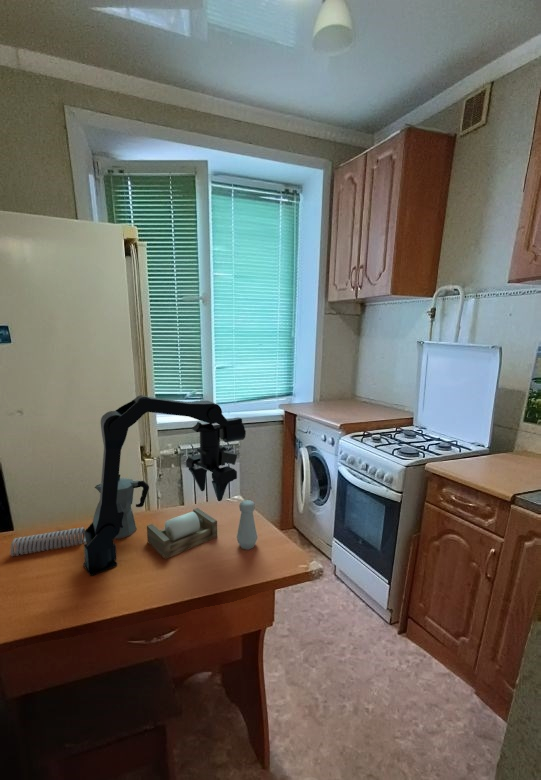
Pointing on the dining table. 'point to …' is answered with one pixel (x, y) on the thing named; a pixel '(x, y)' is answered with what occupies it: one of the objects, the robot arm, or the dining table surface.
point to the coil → (46, 541)
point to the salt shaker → (247, 525)
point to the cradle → (169, 548)
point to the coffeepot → (128, 503)
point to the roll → (182, 526)
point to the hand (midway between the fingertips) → (211, 495)
